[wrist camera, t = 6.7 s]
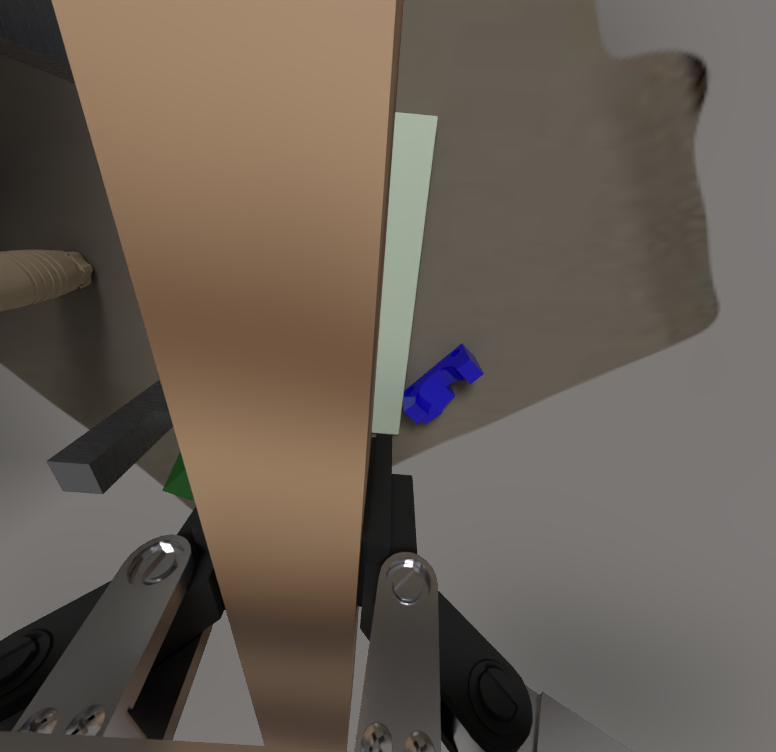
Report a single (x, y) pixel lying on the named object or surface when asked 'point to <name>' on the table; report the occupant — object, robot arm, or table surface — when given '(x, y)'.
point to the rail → (258, 296)
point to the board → (401, 261)
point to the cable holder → (439, 385)
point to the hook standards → (149, 409)
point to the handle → (40, 276)
